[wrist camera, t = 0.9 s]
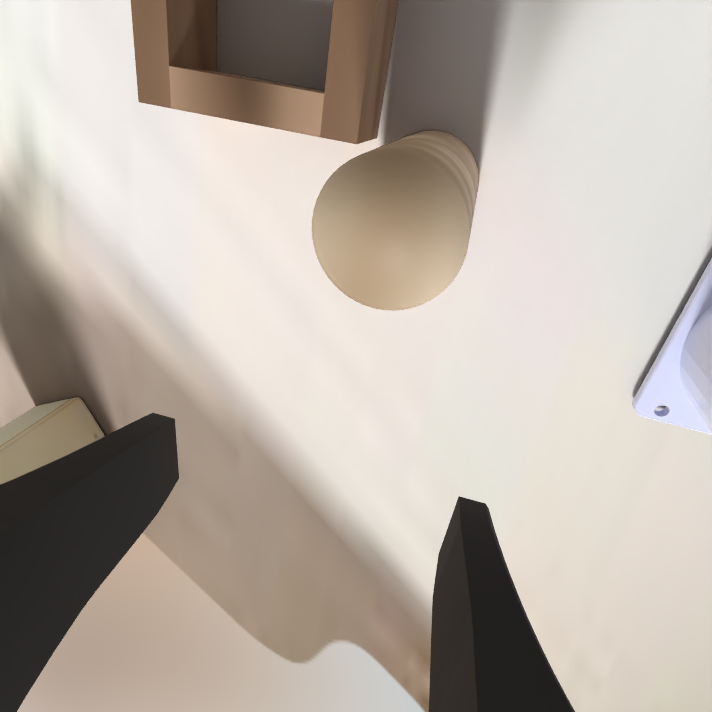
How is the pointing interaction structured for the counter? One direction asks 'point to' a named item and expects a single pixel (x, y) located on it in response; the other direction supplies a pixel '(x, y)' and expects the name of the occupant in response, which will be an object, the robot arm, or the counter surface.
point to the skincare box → (45, 436)
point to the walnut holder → (262, 97)
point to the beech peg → (397, 220)
